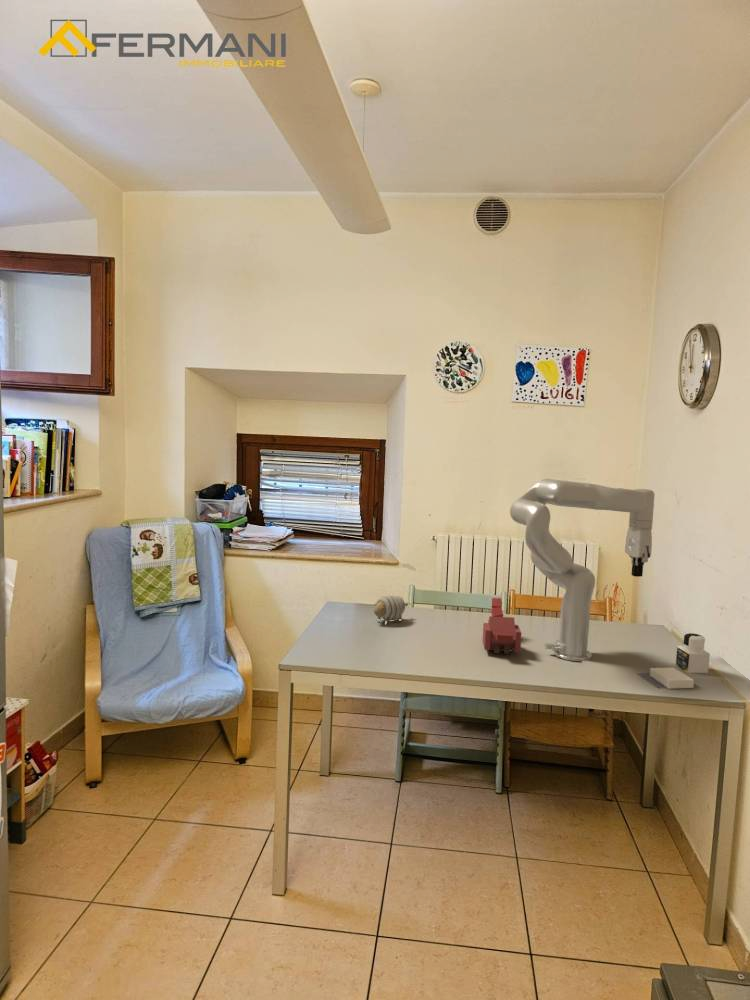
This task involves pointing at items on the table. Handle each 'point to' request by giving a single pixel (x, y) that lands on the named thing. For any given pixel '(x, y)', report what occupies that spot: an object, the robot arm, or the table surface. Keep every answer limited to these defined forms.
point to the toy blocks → (501, 631)
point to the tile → (671, 678)
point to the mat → (655, 682)
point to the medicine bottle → (693, 654)
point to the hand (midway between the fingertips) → (636, 575)
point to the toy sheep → (390, 607)
